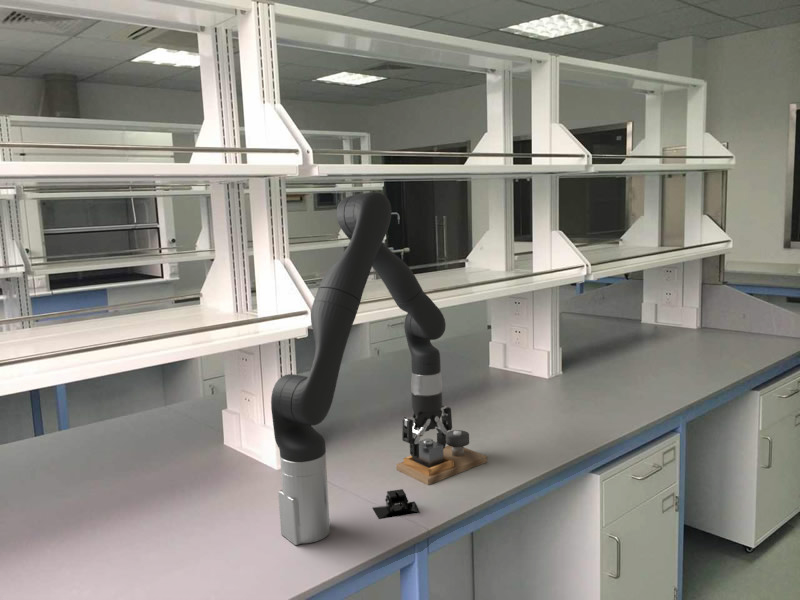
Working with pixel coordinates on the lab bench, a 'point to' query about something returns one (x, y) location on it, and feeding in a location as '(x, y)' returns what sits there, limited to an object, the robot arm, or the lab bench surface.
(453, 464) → the wooden base board
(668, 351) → the lab bench surface
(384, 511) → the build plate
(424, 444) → the grey box with knob
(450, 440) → the wheel
